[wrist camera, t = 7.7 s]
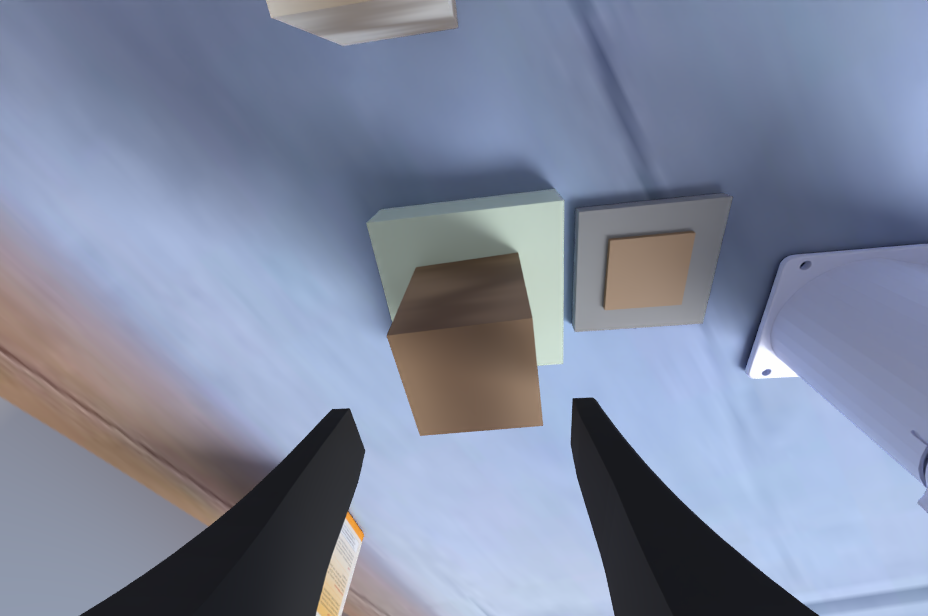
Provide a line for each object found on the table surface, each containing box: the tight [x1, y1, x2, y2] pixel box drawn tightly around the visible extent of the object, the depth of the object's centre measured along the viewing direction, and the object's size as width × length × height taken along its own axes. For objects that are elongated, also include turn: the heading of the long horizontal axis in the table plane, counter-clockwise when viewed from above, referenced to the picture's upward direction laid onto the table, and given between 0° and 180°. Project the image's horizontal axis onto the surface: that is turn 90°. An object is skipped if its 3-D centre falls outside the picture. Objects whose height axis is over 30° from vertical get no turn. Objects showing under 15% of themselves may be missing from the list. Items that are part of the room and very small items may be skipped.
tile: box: [572, 193, 733, 332], centre depth 19 cm, size 7×7×1 cm
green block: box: [366, 189, 564, 366], centre depth 20 cm, size 9×9×3 cm
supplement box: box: [316, 512, 364, 616], centre depth 27 cm, size 8×5×13 cm, turn 14°
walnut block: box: [387, 252, 543, 436], centre depth 16 cm, size 5×5×6 cm
